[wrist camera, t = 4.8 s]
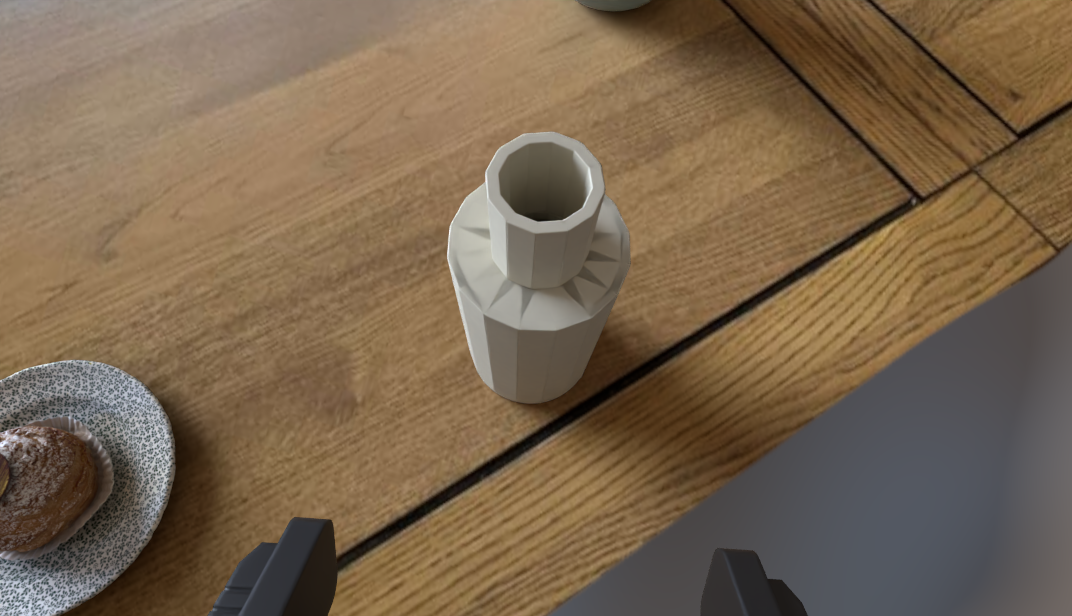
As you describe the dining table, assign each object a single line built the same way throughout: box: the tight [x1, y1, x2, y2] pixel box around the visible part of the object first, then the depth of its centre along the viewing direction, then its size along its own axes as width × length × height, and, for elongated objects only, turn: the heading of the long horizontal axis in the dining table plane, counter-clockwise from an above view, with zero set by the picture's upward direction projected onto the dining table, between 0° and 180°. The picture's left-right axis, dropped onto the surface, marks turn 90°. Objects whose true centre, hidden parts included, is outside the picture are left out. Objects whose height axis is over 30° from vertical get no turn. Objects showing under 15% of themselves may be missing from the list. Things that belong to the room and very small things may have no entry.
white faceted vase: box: [447, 132, 631, 404], centre depth 24 cm, size 6×6×16 cm
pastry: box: [0, 360, 176, 616], centre depth 26 cm, size 12×12×5 cm
